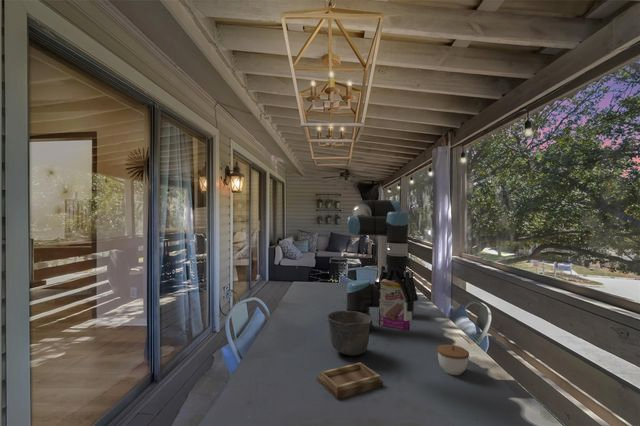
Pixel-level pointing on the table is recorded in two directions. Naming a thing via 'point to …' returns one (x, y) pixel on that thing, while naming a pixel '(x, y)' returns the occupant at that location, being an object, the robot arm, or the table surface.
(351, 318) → the dark grey pot
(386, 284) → the candy bar box
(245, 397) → the table surface
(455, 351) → the lidded jar
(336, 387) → the wooden tray
